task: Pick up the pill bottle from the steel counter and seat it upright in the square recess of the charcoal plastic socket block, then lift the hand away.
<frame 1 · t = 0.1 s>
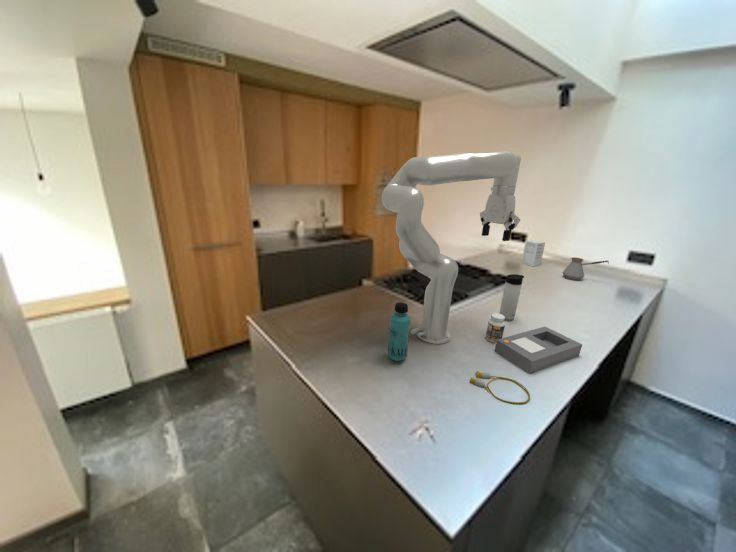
hand: (495, 238, 115), 37 cm above the counter, tool pointing down, fingers open, 9 cm apart
travel mug: (506, 318, 133), on the counter
socket block: (536, 353, 108), on the counter
coffee pot: (581, 280, 188), on the counter
beverage bottle: (396, 359, 101), on the counter
pill bottle: (493, 339, 116), on the counter
supplement box: (530, 264, 219), on the counter
yellow connector cable: (499, 389, 90), on the counter
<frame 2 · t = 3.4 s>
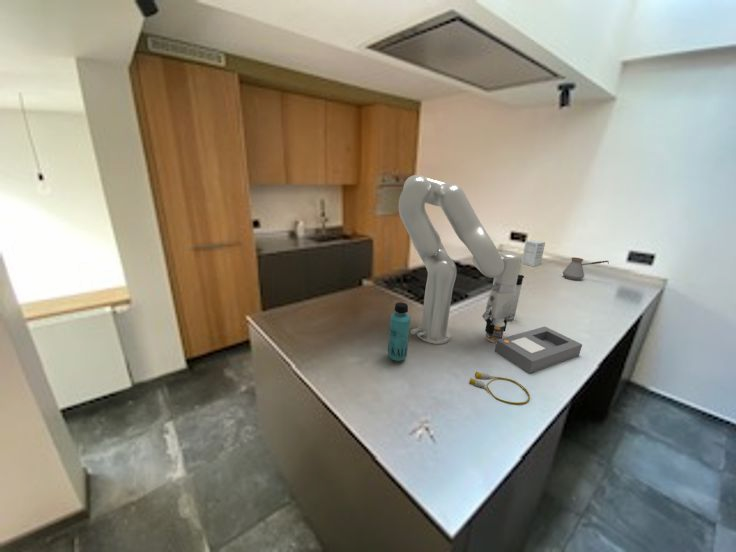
hand: (495, 331, 114), 4 cm above the counter, tool pointing down, fingers closed on pill bottle, 5 cm apart
pill bottle: (493, 339, 116), on the counter, touching gripper
everything else where it was.
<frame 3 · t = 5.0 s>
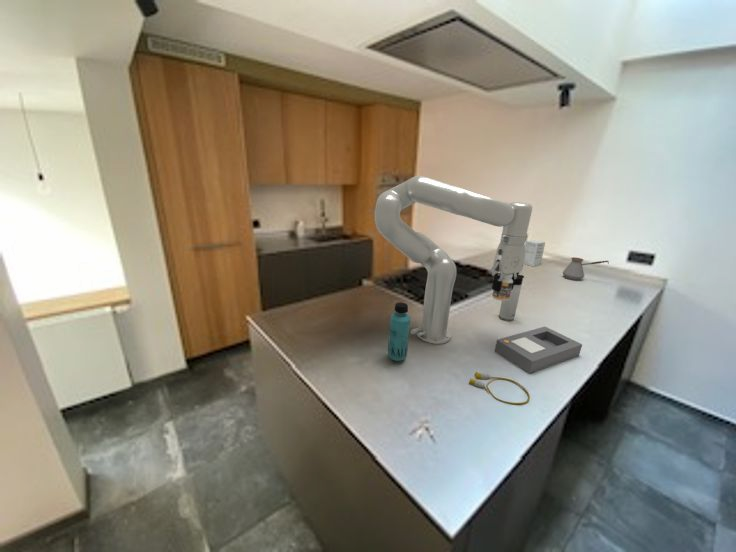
hand: (502, 289, 109), 21 cm above the counter, tool pointing down, fingers closed on pill bottle, 5 cm apart
pill bottle: (500, 298, 110), point 17 cm above the counter, touching gripper
everything else where it was.
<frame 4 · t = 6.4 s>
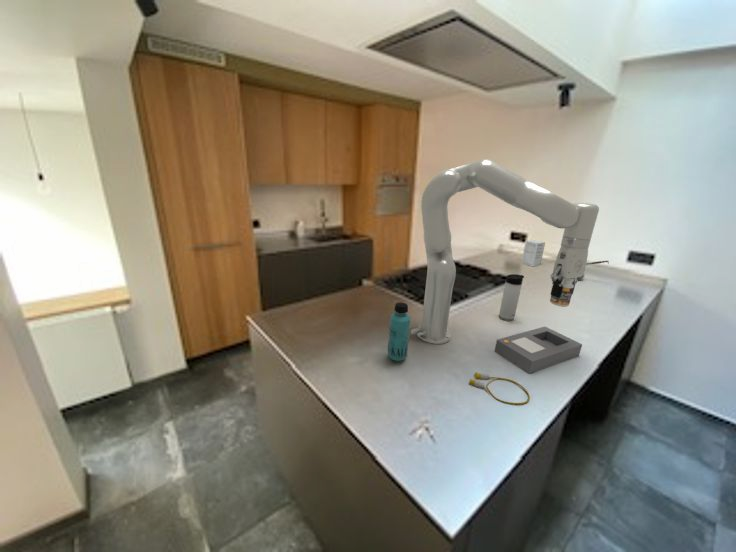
hand: (561, 294, 103), 22 cm above the counter, tool pointing down, fingers closed on pill bottle, 5 cm apart
pill bottle: (558, 304, 104), point 18 cm above the counter, touching gripper
everything else where it was.
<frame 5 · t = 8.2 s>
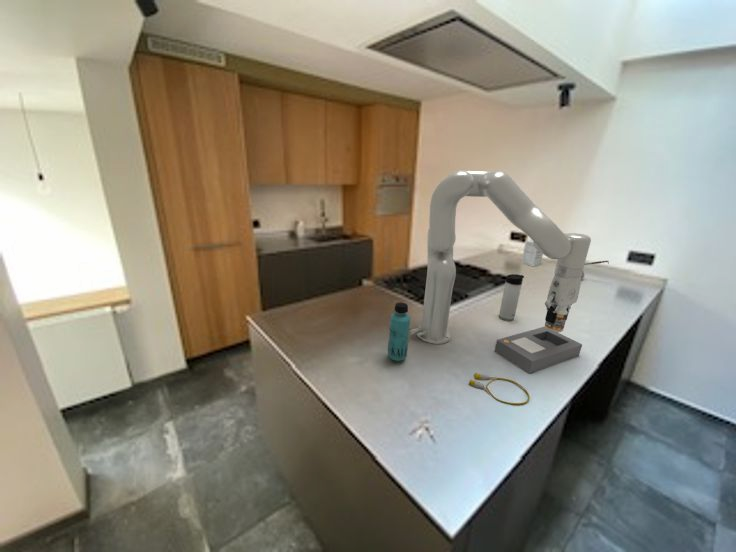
hand: (555, 319, 106), 12 cm above the counter, tool pointing down, fingers closed on pill bottle, 5 cm apart
pill bottle: (553, 329, 107), point 8 cm above the counter, touching gripper
everything else where it was.
when the fingers open (5 cm above the counter, at t = 9.9 s): pill bottle stays where it is, resting on socket block.
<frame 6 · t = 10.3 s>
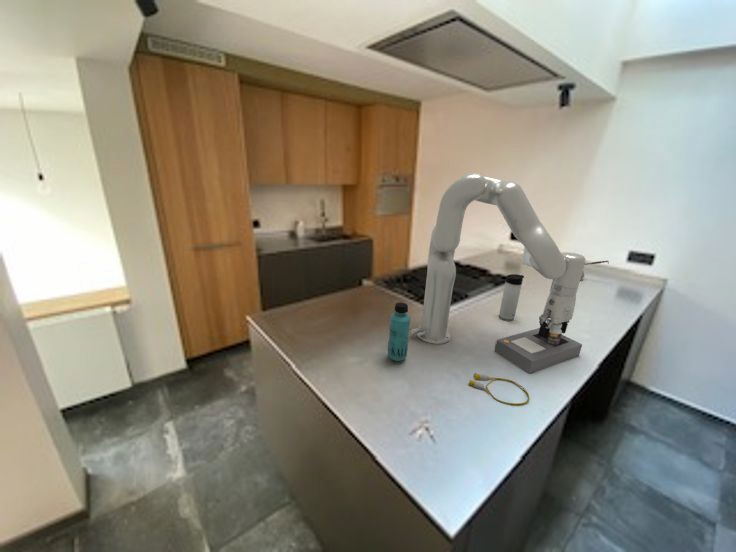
hand: (551, 334, 108), 6 cm above the counter, tool pointing down, fingers open, 9 cm apart
pill bottle: (547, 347, 110), point 1 cm above the counter, touching socket block
everything else where it was.
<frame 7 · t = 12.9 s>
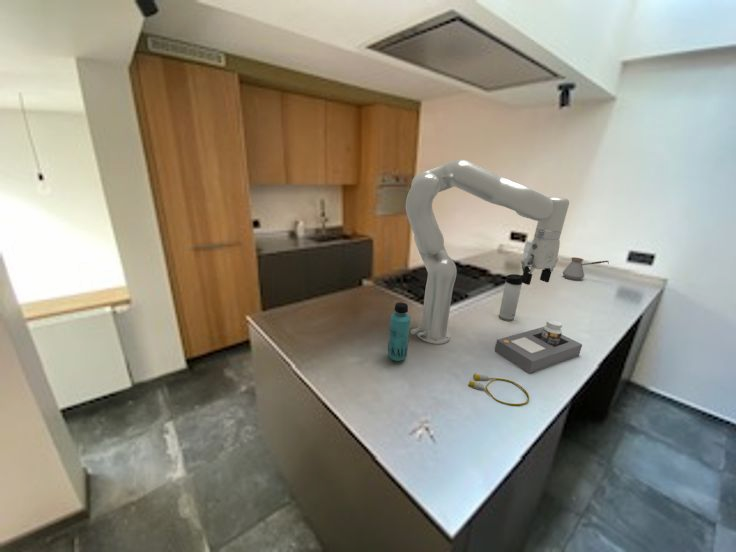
hand: (534, 282, 108), 24 cm above the counter, tool pointing down, fingers open, 9 cm apart
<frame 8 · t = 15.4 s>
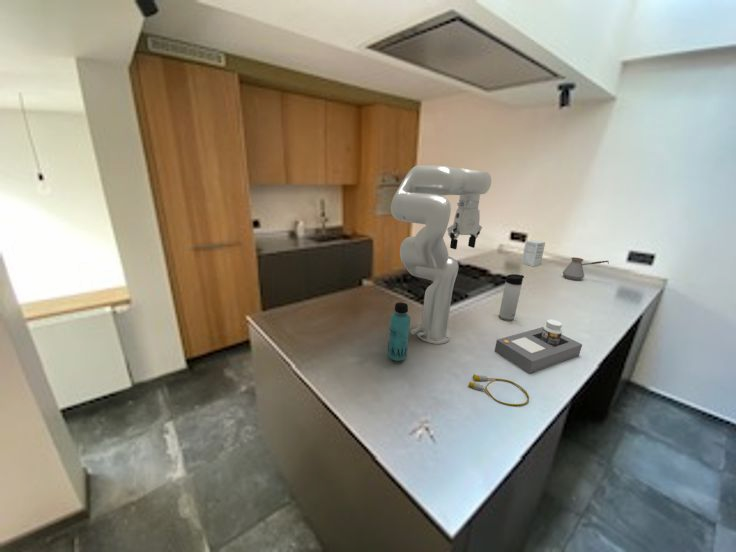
hand: (462, 247, 125), 30 cm above the counter, tool pointing down, fingers open, 9 cm apart
at the end: pill bottle 0.1 cm from the target spot on the socket block, point 0.8 cm above the socket block's base; pill bottle tilted 0°; the gripper is holding nothing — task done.
